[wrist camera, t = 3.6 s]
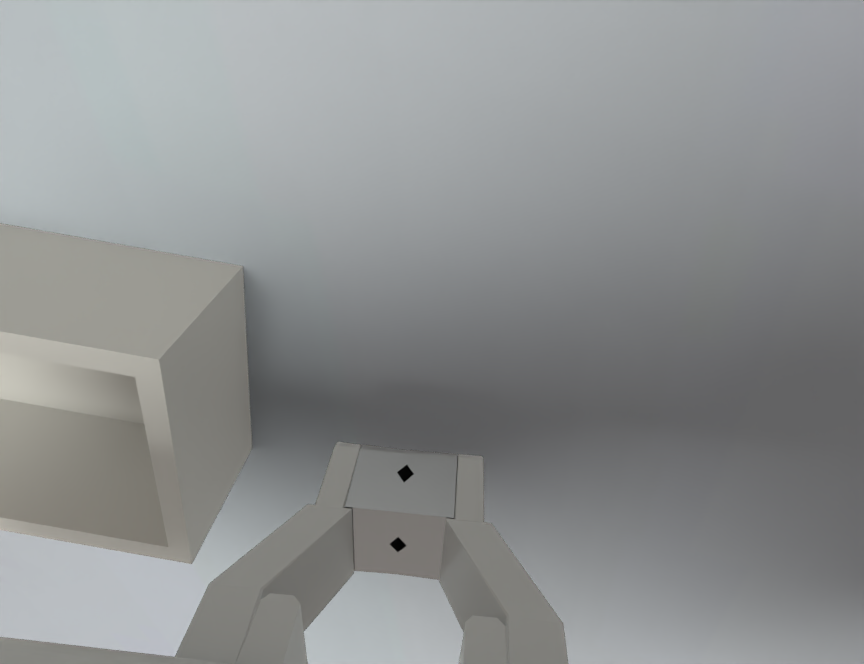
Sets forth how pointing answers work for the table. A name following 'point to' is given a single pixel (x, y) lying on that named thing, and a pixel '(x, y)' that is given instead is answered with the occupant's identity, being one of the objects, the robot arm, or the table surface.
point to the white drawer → (119, 392)
